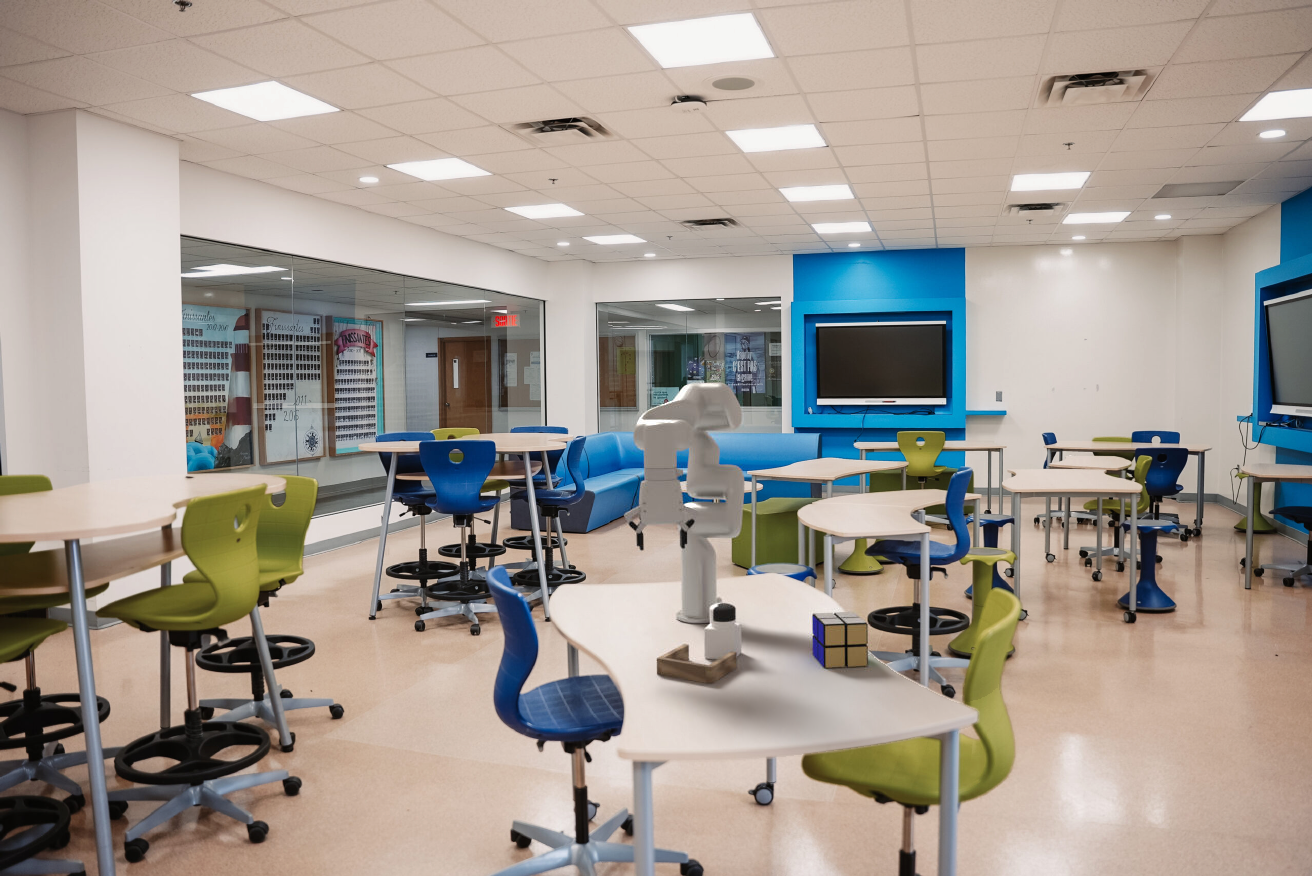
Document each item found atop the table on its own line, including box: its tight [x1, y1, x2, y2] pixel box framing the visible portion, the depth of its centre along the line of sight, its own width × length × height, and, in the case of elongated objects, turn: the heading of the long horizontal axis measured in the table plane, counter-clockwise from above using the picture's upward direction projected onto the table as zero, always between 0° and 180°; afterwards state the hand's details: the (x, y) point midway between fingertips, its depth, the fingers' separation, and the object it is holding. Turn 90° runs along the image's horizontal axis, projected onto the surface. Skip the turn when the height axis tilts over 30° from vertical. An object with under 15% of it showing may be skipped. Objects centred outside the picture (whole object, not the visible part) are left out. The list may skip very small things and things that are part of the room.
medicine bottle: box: [703, 602, 742, 661], centre depth 203 cm, size 7×7×12 cm
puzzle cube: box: [811, 611, 869, 669], centre depth 197 cm, size 10×10×10 cm
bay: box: [656, 643, 738, 685], centre depth 192 cm, size 12×13×4 cm
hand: (662, 548), depth 202 cm, fingers open, 9 cm apart
